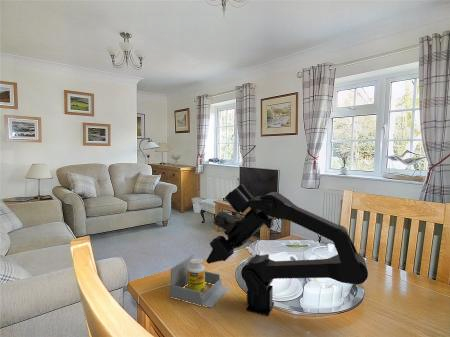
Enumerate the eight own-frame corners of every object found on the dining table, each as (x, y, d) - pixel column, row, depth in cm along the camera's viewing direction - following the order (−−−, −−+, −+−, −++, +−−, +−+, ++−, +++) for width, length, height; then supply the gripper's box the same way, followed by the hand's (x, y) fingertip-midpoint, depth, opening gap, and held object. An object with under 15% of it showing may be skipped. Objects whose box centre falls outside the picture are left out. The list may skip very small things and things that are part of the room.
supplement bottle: (187, 297, 82) (187, 264, 81) (187, 288, 87) (187, 257, 87) (205, 295, 83) (205, 263, 82) (204, 287, 88) (204, 256, 88)
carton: (229, 288, 87) (229, 261, 87) (211, 309, 75) (211, 278, 75) (192, 279, 93) (192, 254, 93) (170, 298, 81) (169, 269, 81)
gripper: (241, 199, 87) (211, 228, 92) (216, 209, 70) (181, 245, 75) (264, 225, 84) (232, 254, 89) (244, 243, 67) (206, 277, 72)
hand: (214, 256), depth 82 cm, fingers open, 9 cm apart
